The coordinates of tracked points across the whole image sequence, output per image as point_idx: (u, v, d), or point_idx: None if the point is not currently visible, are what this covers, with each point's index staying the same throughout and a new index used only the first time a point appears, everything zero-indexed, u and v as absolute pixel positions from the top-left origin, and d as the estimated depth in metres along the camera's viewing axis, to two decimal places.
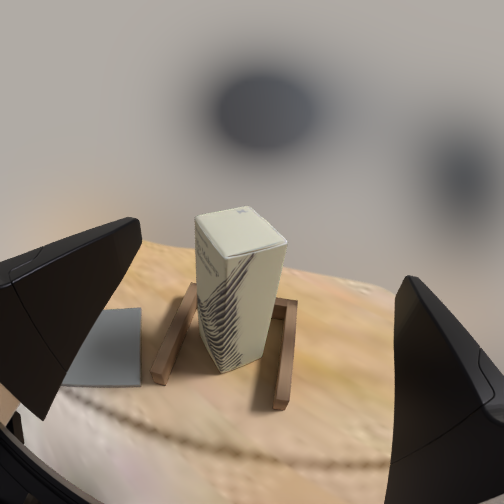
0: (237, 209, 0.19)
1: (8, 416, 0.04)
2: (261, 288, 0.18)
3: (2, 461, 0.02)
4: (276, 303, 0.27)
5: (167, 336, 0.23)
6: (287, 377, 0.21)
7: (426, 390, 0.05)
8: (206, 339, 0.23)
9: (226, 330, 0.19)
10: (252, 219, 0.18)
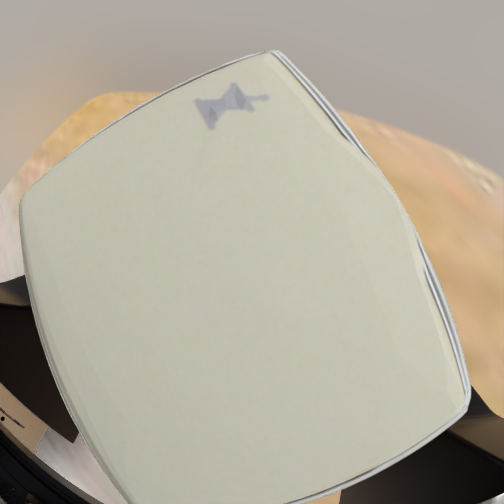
0: (203, 89, 0.03)
1: (36, 442, 0.04)
2: None
3: (2, 461, 0.02)
4: None
5: None
6: None
7: None
8: None
9: None
10: (296, 188, 0.02)
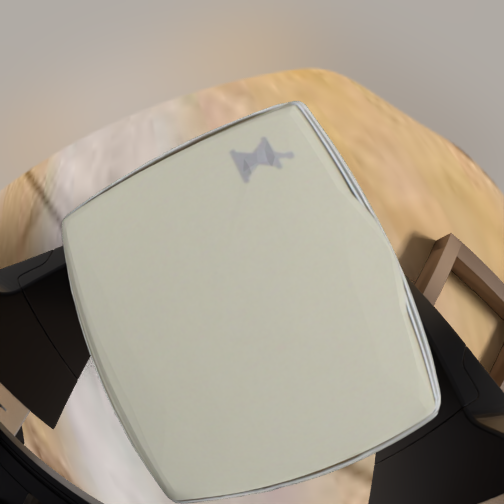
0: (237, 140, 0.03)
1: (17, 425, 0.04)
2: None
3: (2, 461, 0.02)
4: None
5: None
6: None
7: None
8: None
9: None
10: (312, 240, 0.03)
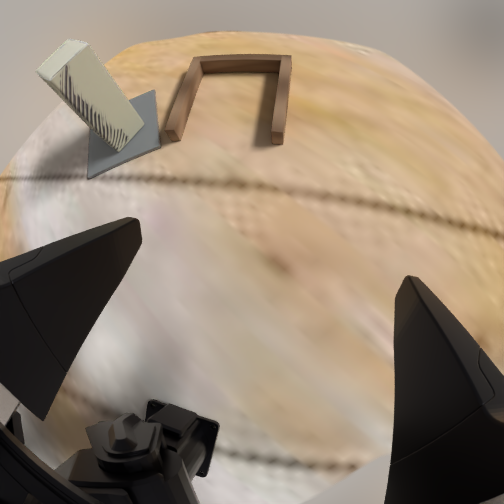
0: (60, 47, 0.14)
1: (8, 416, 0.04)
2: (92, 78, 0.17)
3: (2, 461, 0.02)
4: (271, 58, 0.24)
5: (176, 100, 0.24)
6: (281, 113, 0.23)
7: (426, 390, 0.05)
8: (98, 135, 0.25)
9: (90, 118, 0.20)
10: (67, 46, 0.14)
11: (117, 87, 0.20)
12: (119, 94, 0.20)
